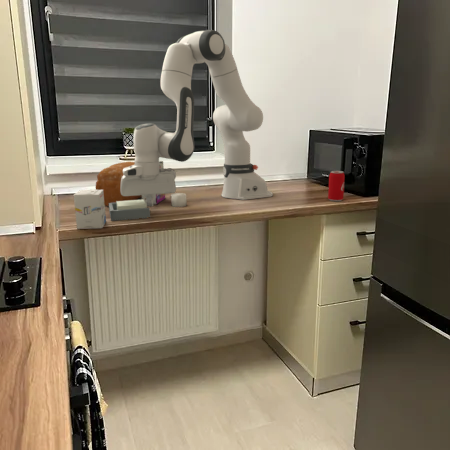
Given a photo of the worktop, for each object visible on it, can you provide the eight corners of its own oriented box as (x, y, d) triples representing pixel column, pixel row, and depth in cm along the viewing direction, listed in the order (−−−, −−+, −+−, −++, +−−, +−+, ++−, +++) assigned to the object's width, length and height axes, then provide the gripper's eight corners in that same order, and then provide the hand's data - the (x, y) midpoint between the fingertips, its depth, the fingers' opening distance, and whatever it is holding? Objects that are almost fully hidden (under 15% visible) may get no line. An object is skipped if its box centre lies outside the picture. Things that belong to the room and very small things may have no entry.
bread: (94, 206, 182) (90, 167, 177) (121, 193, 206) (118, 159, 202) (126, 207, 179) (123, 168, 175) (149, 194, 204) (147, 159, 199)
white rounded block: (184, 203, 185) (184, 192, 184) (187, 206, 179) (187, 195, 178) (170, 204, 183) (169, 193, 182) (172, 207, 178) (172, 196, 177)
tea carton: (144, 212, 172) (143, 199, 170) (147, 217, 163) (146, 204, 162) (117, 214, 169) (116, 201, 168) (119, 220, 161) (118, 206, 159)
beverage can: (345, 200, 188) (347, 171, 185) (338, 202, 183) (340, 173, 180) (332, 198, 192) (334, 170, 189) (325, 200, 188) (326, 171, 184)
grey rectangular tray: (145, 209, 175) (145, 200, 174) (150, 217, 162) (149, 208, 161) (109, 211, 171) (108, 203, 170) (111, 220, 158) (110, 211, 157)
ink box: (81, 222, 157) (78, 189, 153) (106, 221, 157) (103, 188, 154) (76, 229, 148) (72, 194, 145) (102, 228, 149) (99, 193, 146)
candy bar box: (154, 198, 194) (152, 160, 190) (165, 199, 193) (164, 160, 189) (145, 204, 184) (142, 164, 179) (156, 204, 183) (154, 164, 178)
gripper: (174, 166, 170) (175, 202, 173) (118, 169, 164) (121, 206, 168) (177, 169, 164) (178, 206, 168) (119, 171, 158) (122, 210, 162)
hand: (149, 206), depth 168 cm, fingers closed
